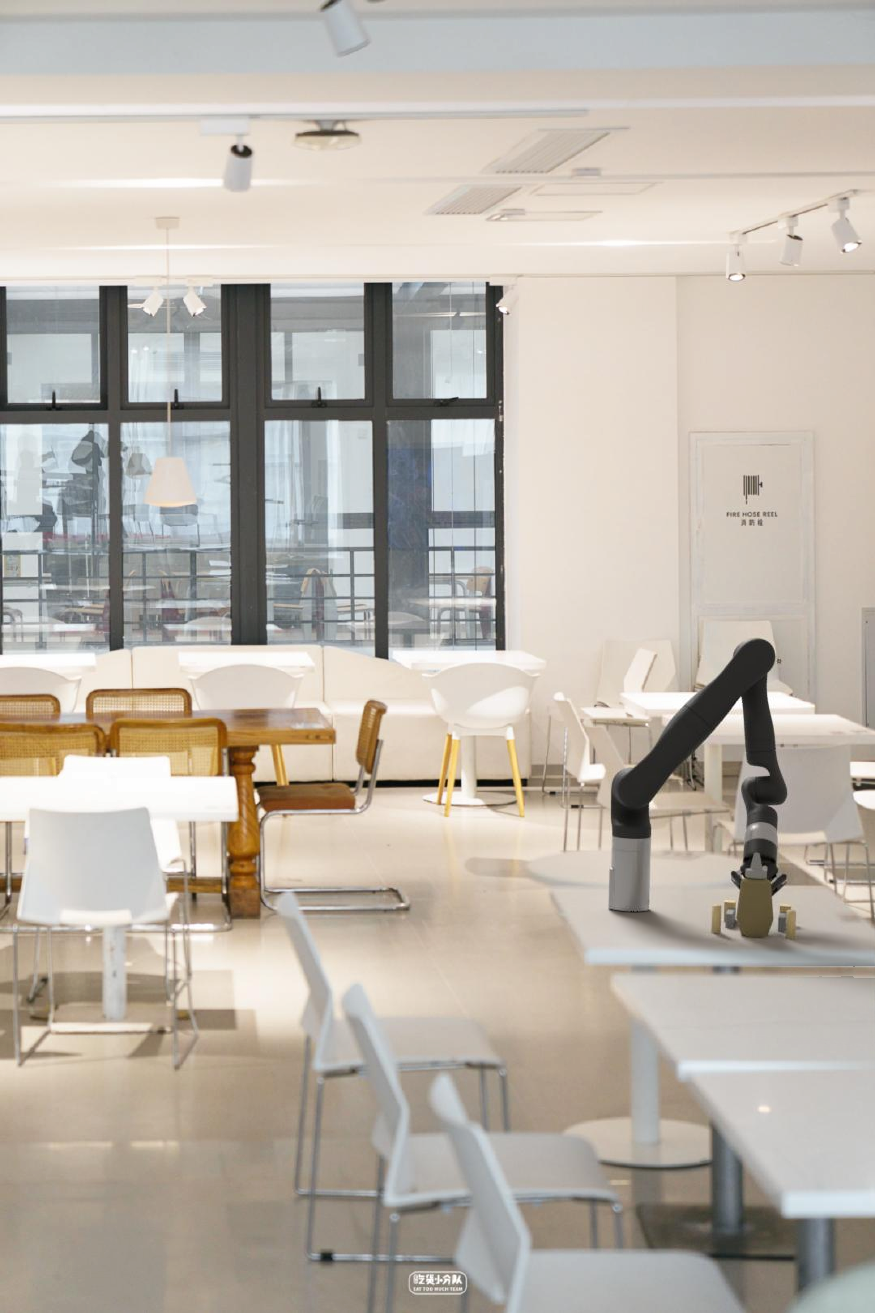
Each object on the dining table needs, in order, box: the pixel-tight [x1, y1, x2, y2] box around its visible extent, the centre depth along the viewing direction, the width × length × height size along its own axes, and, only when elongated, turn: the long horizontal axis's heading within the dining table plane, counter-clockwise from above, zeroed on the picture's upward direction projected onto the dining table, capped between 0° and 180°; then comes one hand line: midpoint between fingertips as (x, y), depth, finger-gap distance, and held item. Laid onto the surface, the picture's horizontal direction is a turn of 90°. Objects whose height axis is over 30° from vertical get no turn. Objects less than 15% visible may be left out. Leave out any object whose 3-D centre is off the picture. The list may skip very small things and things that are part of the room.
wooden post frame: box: [710, 899, 797, 940], centre depth 342 cm, size 18×18×6 cm
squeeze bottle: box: [735, 853, 774, 938], centre depth 334 cm, size 8×8×18 cm
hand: (756, 910), depth 338 cm, fingers closed
